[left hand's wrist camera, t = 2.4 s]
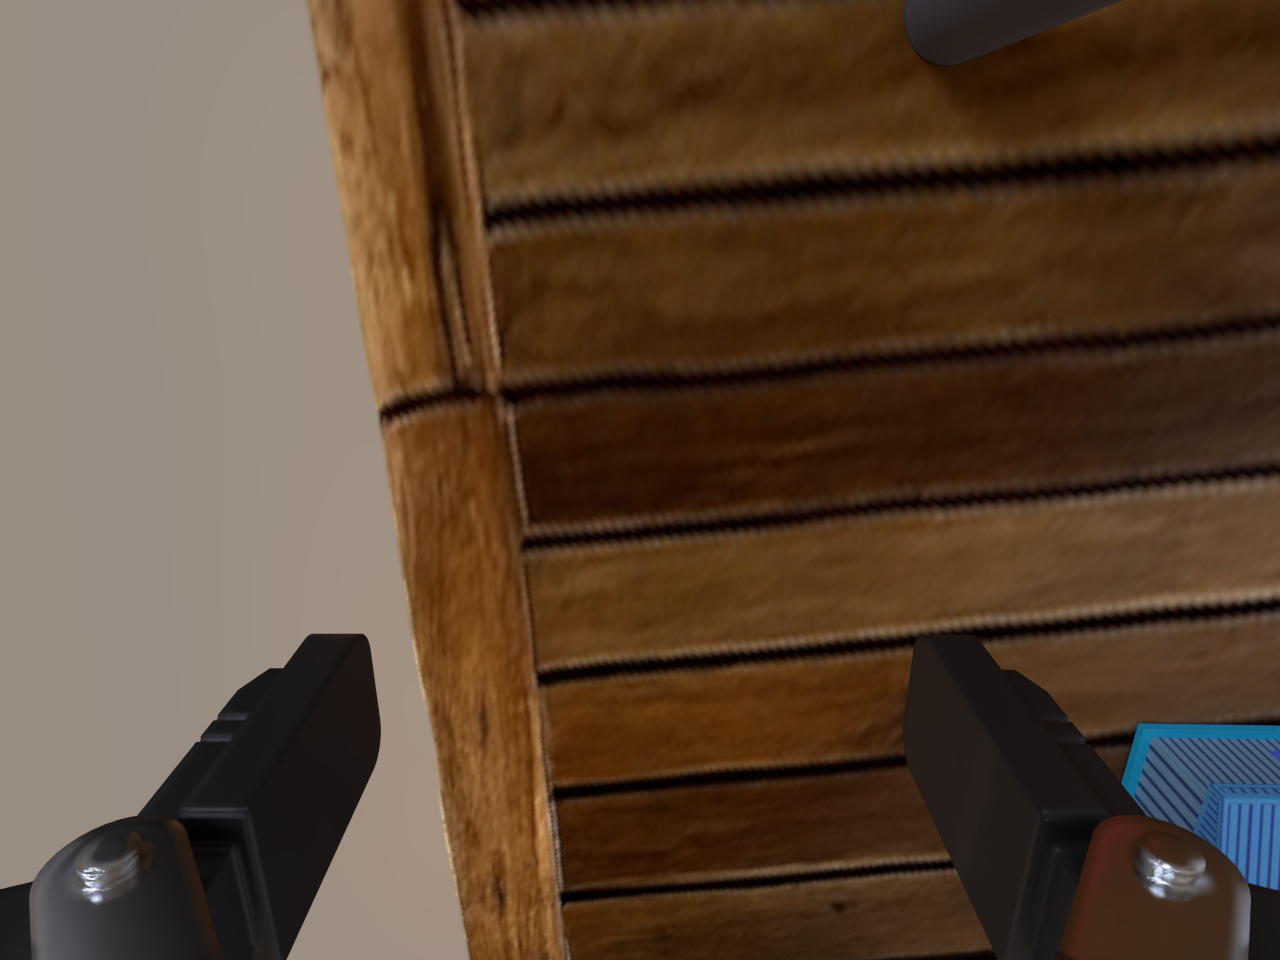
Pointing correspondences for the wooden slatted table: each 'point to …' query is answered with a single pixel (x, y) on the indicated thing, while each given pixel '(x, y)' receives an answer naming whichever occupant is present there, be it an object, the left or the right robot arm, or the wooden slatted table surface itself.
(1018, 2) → the dark gray cylinder
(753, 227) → the wooden slatted table surface
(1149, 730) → the model building
